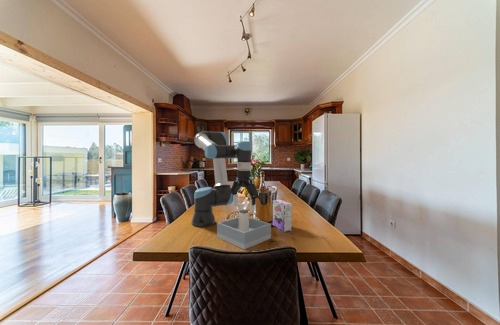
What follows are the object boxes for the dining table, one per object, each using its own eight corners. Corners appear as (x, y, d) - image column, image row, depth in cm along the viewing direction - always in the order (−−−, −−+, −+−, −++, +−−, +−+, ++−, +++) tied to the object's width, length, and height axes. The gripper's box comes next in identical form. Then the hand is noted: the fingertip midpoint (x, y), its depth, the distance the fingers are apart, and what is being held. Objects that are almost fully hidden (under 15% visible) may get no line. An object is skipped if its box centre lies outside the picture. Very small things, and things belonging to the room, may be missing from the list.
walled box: (217, 237, 119) (217, 222, 119) (243, 228, 133) (243, 215, 133) (244, 249, 103) (244, 233, 103) (270, 238, 117) (271, 223, 117)
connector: (238, 237, 118) (238, 210, 118) (243, 235, 121) (243, 209, 120) (243, 239, 115) (243, 211, 115) (248, 237, 118) (248, 210, 118)
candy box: (272, 225, 140) (272, 200, 139) (280, 224, 142) (280, 199, 141) (283, 232, 127) (283, 204, 126) (292, 230, 129) (292, 203, 129)
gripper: (224, 168, 123) (224, 205, 124) (255, 172, 105) (255, 214, 106) (234, 168, 128) (233, 203, 129) (265, 171, 111) (265, 211, 112)
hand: (243, 208), depth 118 cm, fingers open, 13 cm apart
